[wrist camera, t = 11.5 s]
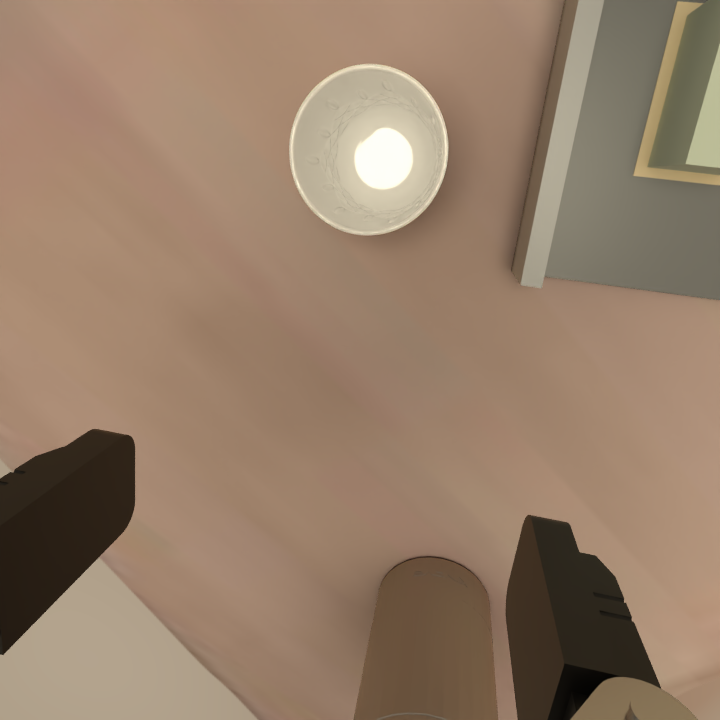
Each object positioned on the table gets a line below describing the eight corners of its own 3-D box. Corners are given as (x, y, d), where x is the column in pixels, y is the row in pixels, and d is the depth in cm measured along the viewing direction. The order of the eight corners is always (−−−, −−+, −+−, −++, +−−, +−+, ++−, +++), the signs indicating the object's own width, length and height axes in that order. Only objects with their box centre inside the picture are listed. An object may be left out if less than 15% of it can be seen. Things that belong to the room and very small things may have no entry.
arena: (800, 309, 35) (862, 332, 30) (511, 270, 37) (520, 285, 32) (923, -22, 30) (1028, -68, 24) (573, -45, 32) (597, -92, 26)
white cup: (350, 236, 39) (315, 253, 29) (316, 118, 37) (267, 95, 27) (463, 203, 37) (465, 210, 27) (434, 77, 35) (425, 38, 25)
